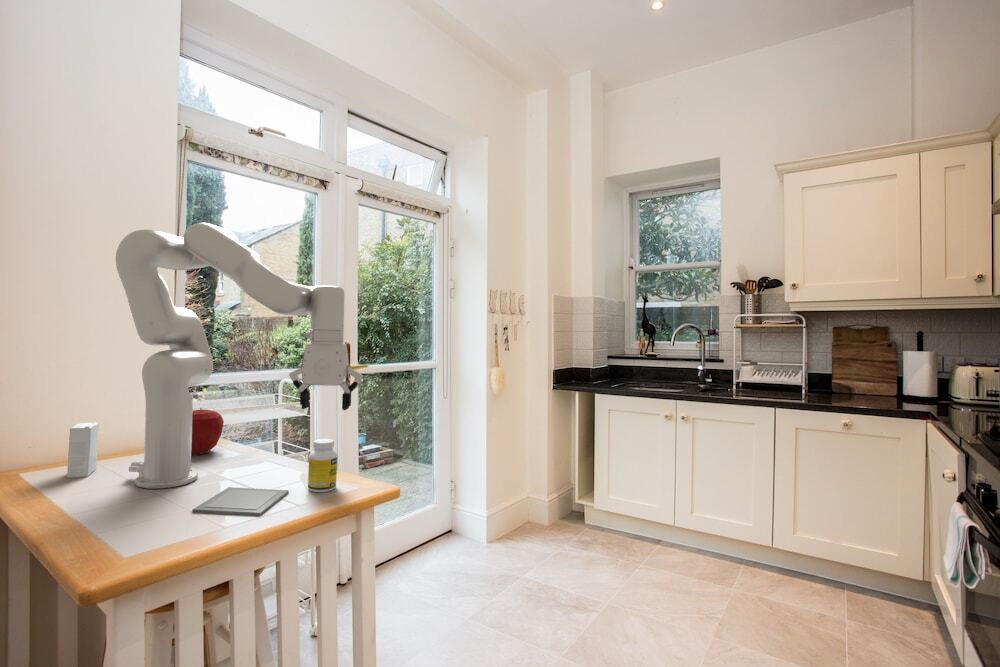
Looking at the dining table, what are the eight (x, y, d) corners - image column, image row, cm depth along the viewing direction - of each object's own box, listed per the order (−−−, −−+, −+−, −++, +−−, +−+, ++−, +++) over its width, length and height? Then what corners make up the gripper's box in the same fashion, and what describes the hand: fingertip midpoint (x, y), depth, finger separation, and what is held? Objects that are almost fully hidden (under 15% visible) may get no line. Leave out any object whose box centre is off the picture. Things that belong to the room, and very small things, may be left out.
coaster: (192, 512, 105) (192, 508, 105) (228, 489, 119) (228, 486, 119) (260, 515, 105) (260, 512, 105) (288, 492, 119) (288, 489, 119)
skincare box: (75, 471, 127) (77, 422, 126) (98, 469, 128) (99, 422, 128) (66, 478, 121) (67, 427, 121) (89, 477, 123) (90, 427, 122)
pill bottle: (327, 494, 119) (329, 445, 118) (302, 491, 120) (304, 442, 120) (341, 486, 125) (343, 439, 125) (317, 483, 126) (319, 436, 126)
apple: (228, 454, 148) (230, 408, 147) (182, 460, 139) (184, 412, 139) (214, 445, 156) (216, 402, 156) (170, 451, 148) (172, 405, 147)
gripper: (284, 336, 118) (282, 410, 118) (358, 339, 118) (357, 412, 118) (297, 336, 126) (295, 405, 126) (367, 338, 126) (365, 407, 126)
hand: (325, 408), depth 122 cm, fingers open, 9 cm apart
